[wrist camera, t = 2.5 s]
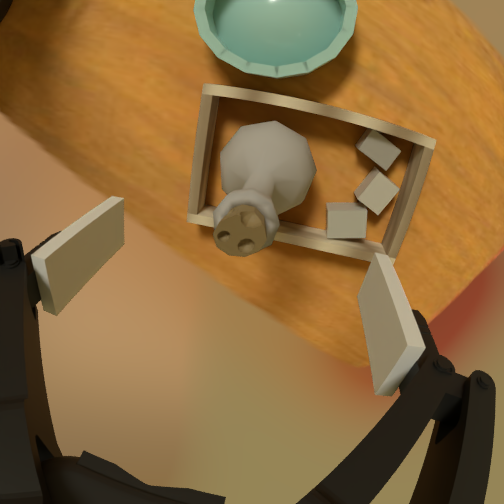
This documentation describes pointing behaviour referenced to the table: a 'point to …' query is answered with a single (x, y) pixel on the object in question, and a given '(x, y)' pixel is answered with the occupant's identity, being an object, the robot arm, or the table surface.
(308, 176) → the potion bottle
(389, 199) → the pebble
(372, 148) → the pebble
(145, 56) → the table surface
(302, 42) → the bowl
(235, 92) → the tray
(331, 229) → the grey block
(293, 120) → the table surface
